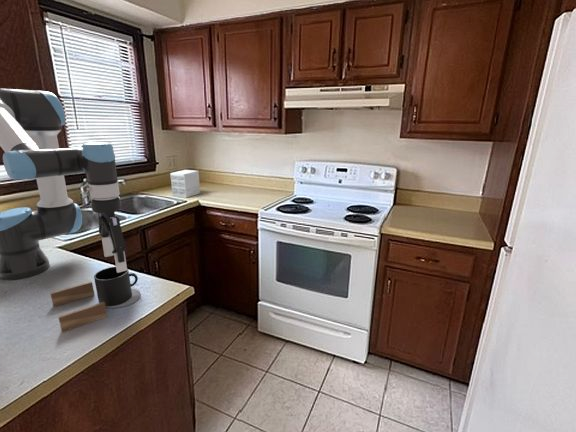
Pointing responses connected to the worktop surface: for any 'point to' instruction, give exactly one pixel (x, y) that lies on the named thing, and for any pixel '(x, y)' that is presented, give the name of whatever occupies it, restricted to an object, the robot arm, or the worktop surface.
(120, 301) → the mug
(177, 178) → the supplement box
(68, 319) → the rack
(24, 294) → the worktop surface
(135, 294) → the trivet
